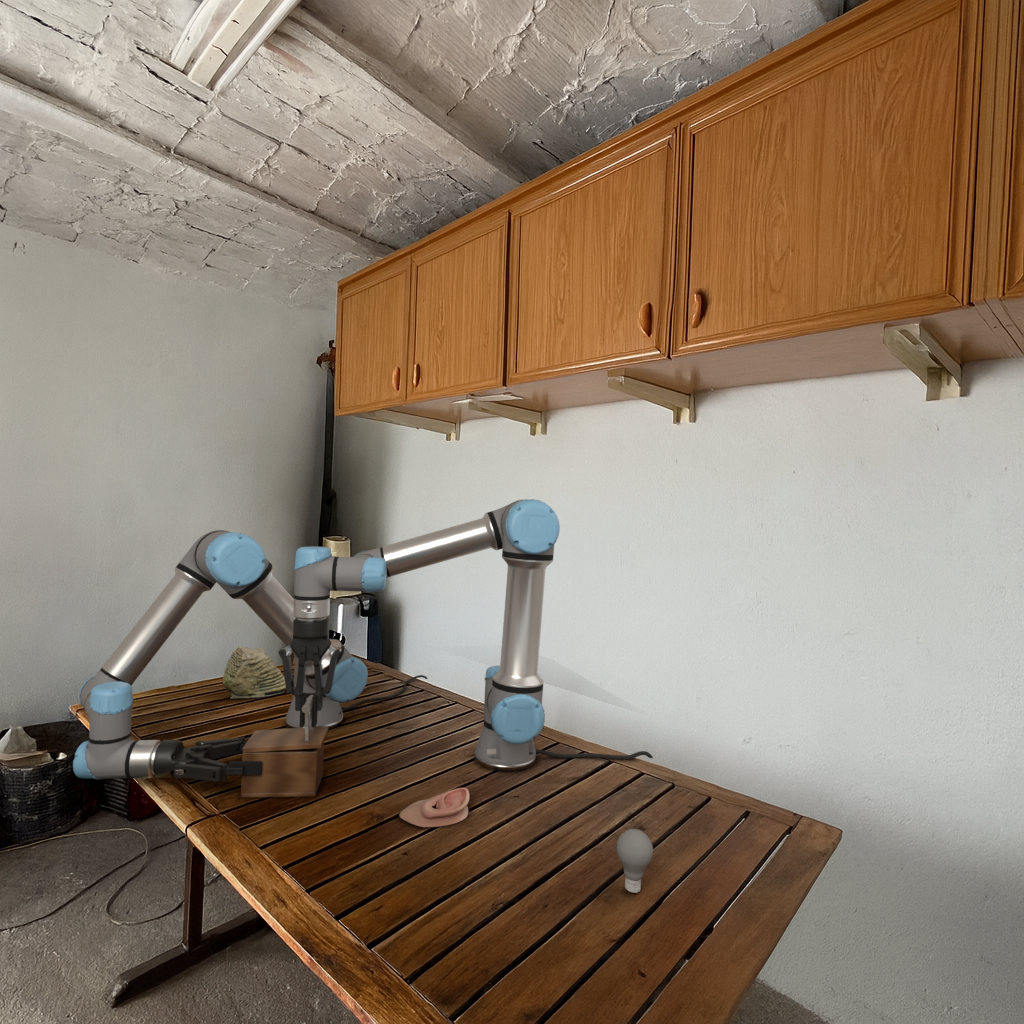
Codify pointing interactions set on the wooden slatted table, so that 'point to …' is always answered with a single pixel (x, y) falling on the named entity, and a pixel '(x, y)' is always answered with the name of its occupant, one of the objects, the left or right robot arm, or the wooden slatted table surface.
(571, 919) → the wooden slatted table surface
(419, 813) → the anatomical model
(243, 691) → the fossil
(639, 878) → the light bulb
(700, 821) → the wooden slatted table surface
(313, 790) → the chest
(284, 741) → the lid
